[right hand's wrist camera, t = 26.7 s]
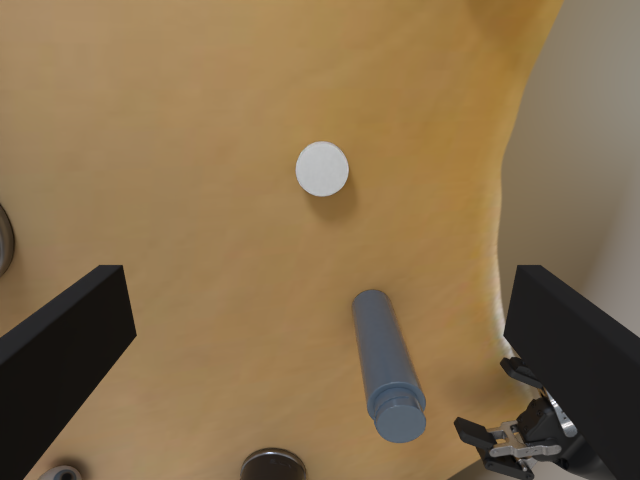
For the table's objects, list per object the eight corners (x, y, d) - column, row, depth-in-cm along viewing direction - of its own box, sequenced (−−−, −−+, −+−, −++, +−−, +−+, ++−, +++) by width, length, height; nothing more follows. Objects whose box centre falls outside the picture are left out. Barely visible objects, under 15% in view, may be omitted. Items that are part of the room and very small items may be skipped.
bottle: (344, 315, 45) (359, 436, 29) (363, 283, 44) (389, 391, 27) (379, 329, 46) (412, 455, 30) (398, 298, 44) (444, 413, 28)
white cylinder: (343, 137, 38) (344, 139, 36) (350, 187, 40) (351, 192, 38) (292, 145, 38) (291, 148, 36) (301, 195, 40) (300, 200, 38)
